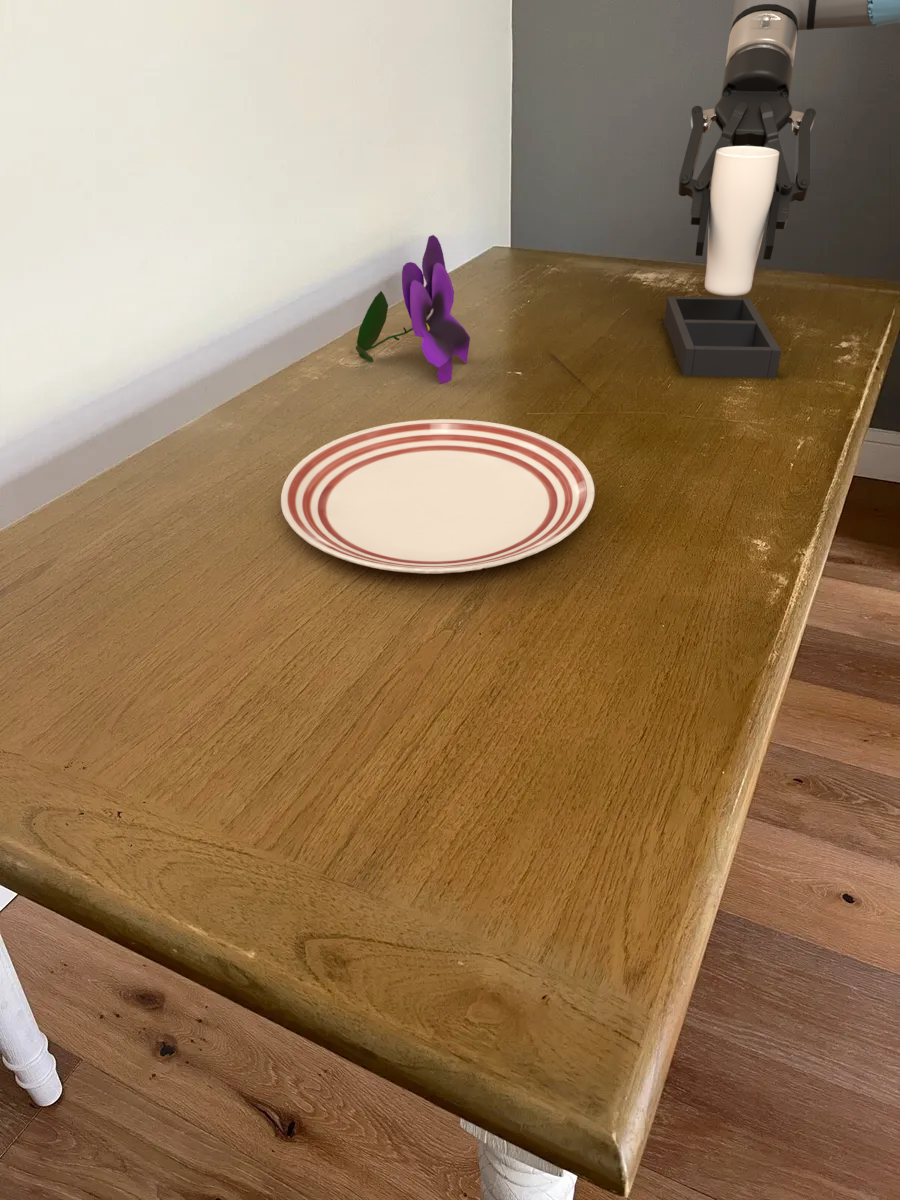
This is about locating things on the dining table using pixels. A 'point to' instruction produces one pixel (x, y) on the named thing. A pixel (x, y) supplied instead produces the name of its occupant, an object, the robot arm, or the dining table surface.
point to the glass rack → (720, 337)
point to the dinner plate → (437, 496)
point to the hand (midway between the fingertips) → (733, 250)
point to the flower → (422, 313)
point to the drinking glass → (738, 216)
